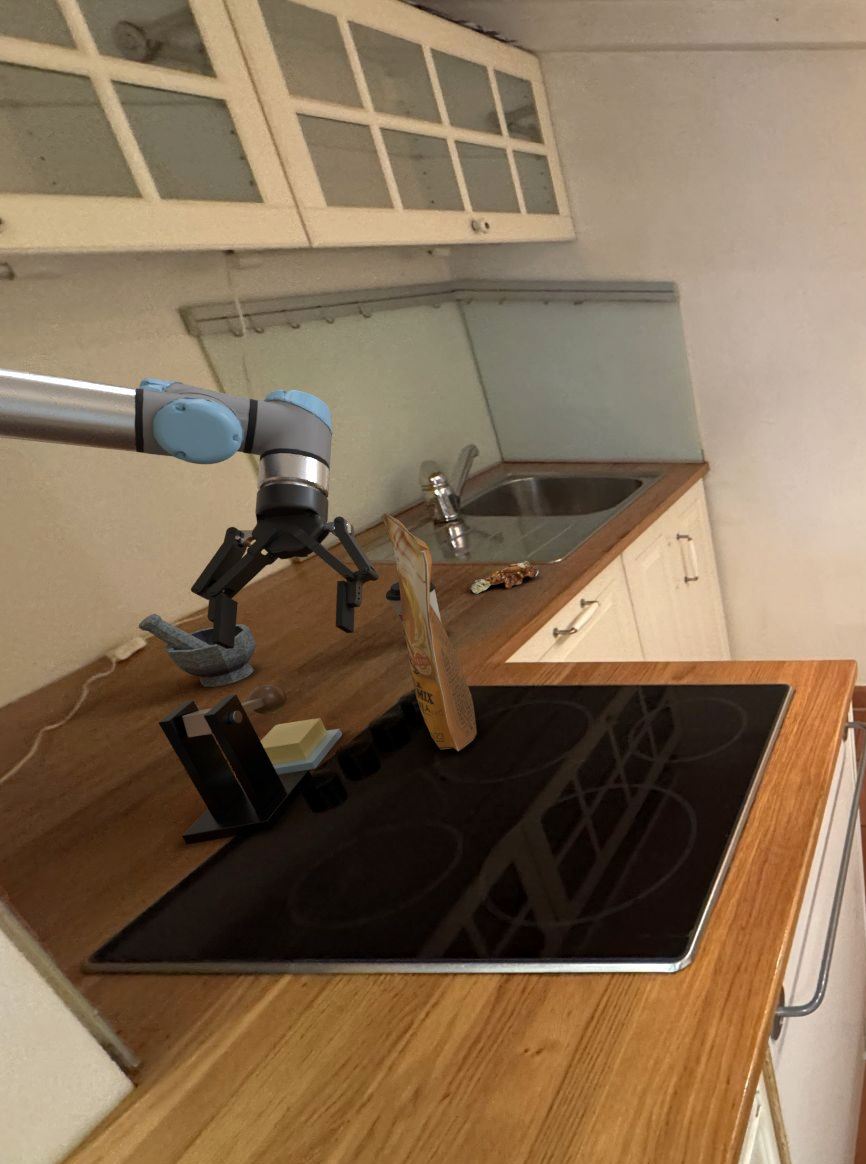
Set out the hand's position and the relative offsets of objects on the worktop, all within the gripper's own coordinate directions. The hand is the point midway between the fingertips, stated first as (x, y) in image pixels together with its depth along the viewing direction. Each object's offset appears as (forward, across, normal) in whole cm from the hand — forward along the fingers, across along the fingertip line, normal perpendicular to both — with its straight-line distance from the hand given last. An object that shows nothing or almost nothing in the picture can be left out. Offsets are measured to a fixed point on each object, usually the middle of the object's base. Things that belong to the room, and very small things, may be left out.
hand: (284, 637), depth 100 cm
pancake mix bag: (+14, -18, -6) cm, 23 cm away
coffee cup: (-9, -5, -28) cm, 30 cm away
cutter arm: (+13, 0, +6) cm, 15 cm away
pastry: (-25, -12, -44) cm, 52 cm away
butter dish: (+15, 0, -4) cm, 16 cm away
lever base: (+23, 0, +4) cm, 23 cm away
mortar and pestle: (-5, +22, -24) cm, 33 cm away
